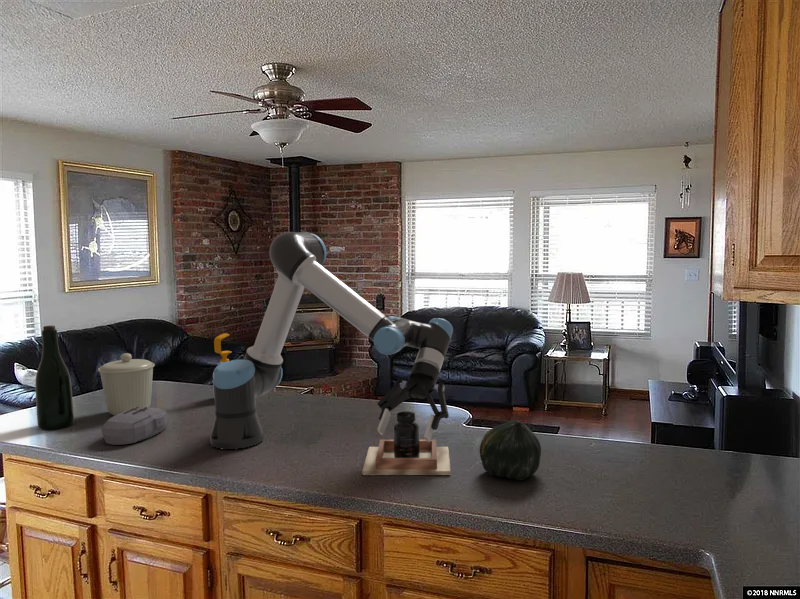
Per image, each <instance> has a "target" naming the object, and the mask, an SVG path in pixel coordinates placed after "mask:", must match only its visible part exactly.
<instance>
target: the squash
mask: <svg viewBox="0 0 800 599" xmlns="http://www.w3.org/2000/svg"><path fill="white" fill-rule="evenodd" d="M541 455H542V447H541V442H540V440H539V438H538V437H537V436H536V434H535V433H534V432H533V431H532V430H531V429H530V428H529V427H528V426H527V425H526V424H525V423H524V422H522V421H521V420H510V421H507V422H505V423H502V424H498V425H495V426H494V427H492V428H490V429H489V430H488V431H487V432H486V433H485V434H484V436H483V438H482V439H481V442H480V446H479V457H480V460H481V464H482V467H483V469H484V471H485V472H486V473H488V474H489V475H492V476H497V477H498V478H499V477H500V478H503V477H506V478H507V479H512V478H513V479H514V480H517V481H523V480H525V479H527V478H530V477H532V476H534V475H535V473H536V472H537V471H538V469H539V466H540V463H541Z"/></svg>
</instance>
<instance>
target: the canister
mask: <svg viewBox="0 0 800 599" xmlns="http://www.w3.org/2000/svg"><path fill="white" fill-rule="evenodd" d="M155 366H156V365H155V363H154V362H152V361H150V360H149V359H148V360H147V359H144V358H143V359H142V358H133V356H132V354H131V353H130V352H129V353H128V352H126V353H125V352H124V353H123V354H121V355H120V360H115V361H109V362H106V363H105V364H102V366H100V367H98V369H97V371H98V372H99V373H100V378H101V384H102V391H103V395H104V399H105V403H106V409H107V411H108V412H109V414H110V415H112V416H115V415H117V414H119V413H122V412H125V411H127V410H131V409H135V408H136V407H139V408H145V407H147V408H151V407H150V406H151V402H152V391H153V389H152V388H153V374H154V372H153V371H154V367H155Z"/></svg>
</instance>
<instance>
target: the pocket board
mask: <svg viewBox="0 0 800 599" xmlns="http://www.w3.org/2000/svg"><path fill="white" fill-rule="evenodd" d="M419 443H420V456H419V458H395V457H394V439H379V444H378V446H369V447H368V450H367V453H366V457H365V460H364V464H363V466H362V467H363V468H362V469H361V470H362V471H361V473H362V474H363V475H366V474H367V475H368V474H371V475H372V474H375V475H378V474H380V475H381V474H385V475H388V474H390V475H450V476H451V461H450V452H449V446H437V439H431V440H430V442H427V441H426V440H425V439H419Z"/></svg>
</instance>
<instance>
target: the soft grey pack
mask: <svg viewBox="0 0 800 599" xmlns="http://www.w3.org/2000/svg"><path fill="white" fill-rule="evenodd" d="M169 420H170V417H169V414H168V412H167V411H166V410H165V409H164V408H163V409H162V408H159V407H149V408H147V407H145V408H139V407H136V408H135V409H131V410H127V411H125V412H122V413H119V414H117V415H115V416H114V415H112V417H110V418H109V419H107V420H106V421H105V423H104V424H102V428H101V434H102V436H103V439H104V441H105V443H106V444H109V445H115V446H119V445H120V446H121V445H123V446H124V445H129V444H135V443H137V442H138V441H139V442H143V441H145V440H144V439H146V440H148V439H150V438H153V437H154V435H155V436H157V435H158V434H160V433H161V432H163V431H164V430H165V429H166V428H167V427H168V425H169ZM159 432H160V433H159ZM156 434H157V435H156ZM152 436H153V437H152ZM149 437H150V438H149ZM147 438H148V439H147ZM142 440H143V441H142Z"/></svg>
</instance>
